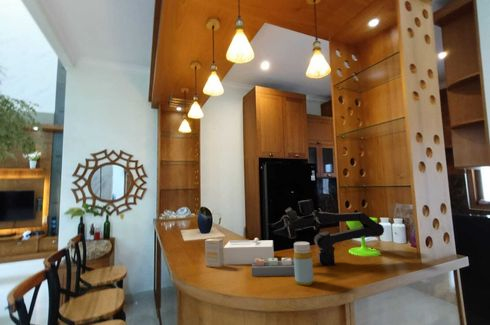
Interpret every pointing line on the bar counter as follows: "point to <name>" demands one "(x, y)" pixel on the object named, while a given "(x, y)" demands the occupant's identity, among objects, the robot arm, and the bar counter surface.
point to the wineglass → (363, 249)
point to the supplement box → (214, 253)
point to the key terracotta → (259, 262)
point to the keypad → (273, 269)
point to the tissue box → (247, 251)
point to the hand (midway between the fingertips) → (272, 229)
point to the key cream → (286, 261)
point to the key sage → (273, 261)
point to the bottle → (303, 263)
